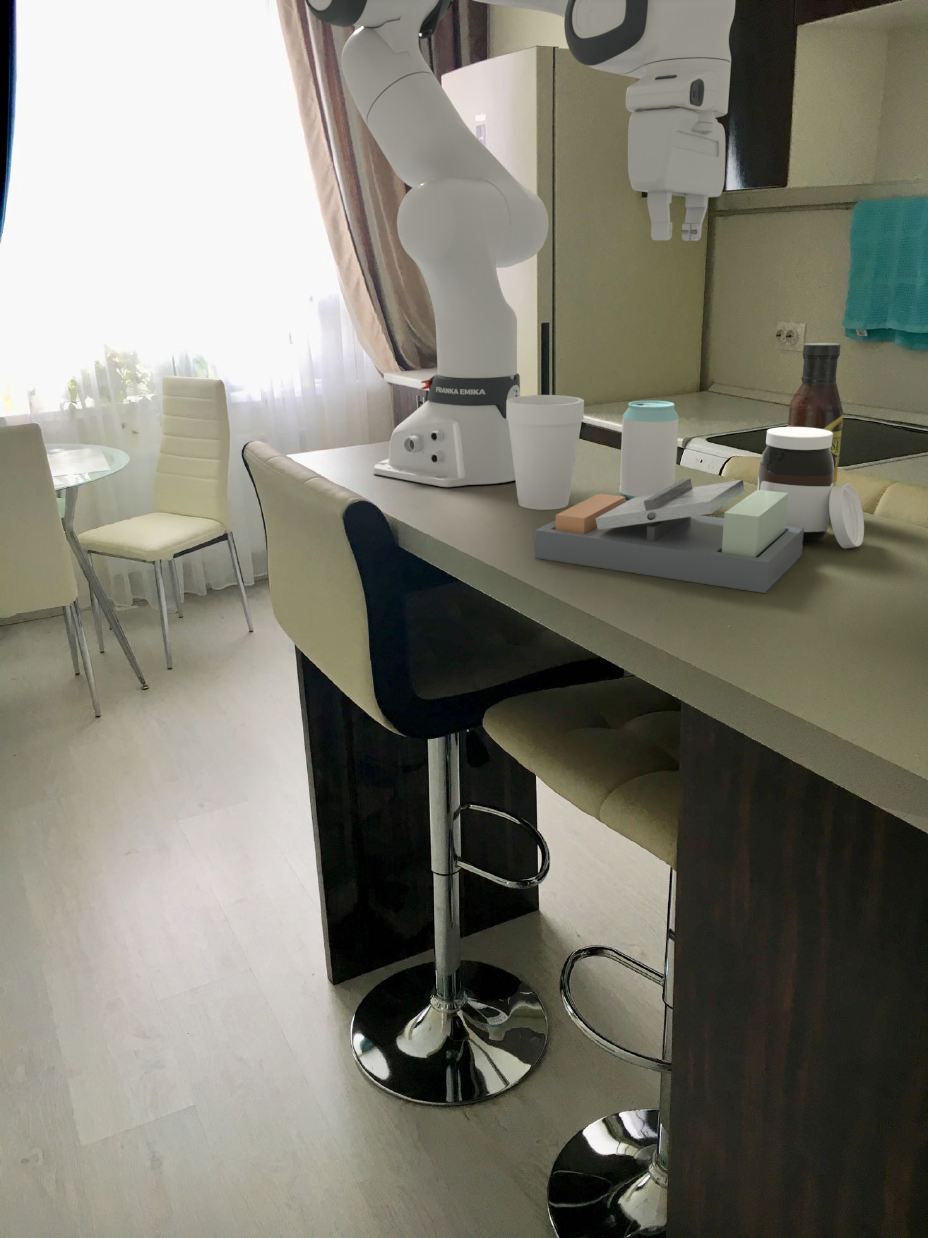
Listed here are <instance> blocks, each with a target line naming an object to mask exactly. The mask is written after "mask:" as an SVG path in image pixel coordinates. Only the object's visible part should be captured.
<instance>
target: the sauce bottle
mask: <svg viewBox="0 0 928 1238" xmlns="http://www.w3.org/2000/svg"><path fill="white" fill-rule="evenodd" d="M840 353H841V343H836V342H835V343H834V342H813V343H812V342H811V343H809V342H808V343H804V344H803V349H802V358H803V366H802V376H801V378H800V379H801V382H802V383H801V385H800V386H799V388H798V389H797V391H796V392H795V393H794V395H793V396H792V399H790V402H789V407H788V420H787V421H788V422H787V425H786V427H808V428H817V429H824V430H828V431H831V432H832V433H833V439H832V446H831V447H830V451H831V454H832V457H833V463H834V479H833V487H834V486H837V477H838V470H839V461H840V451H841V441H842V430H843V423H844V414H845V413H844V410H843V405H842V401H841V397H840V392H839V389H838V384H837V369H838V368H837V367H838V360H839V357H840V355H841V354H840Z"/></svg>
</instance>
